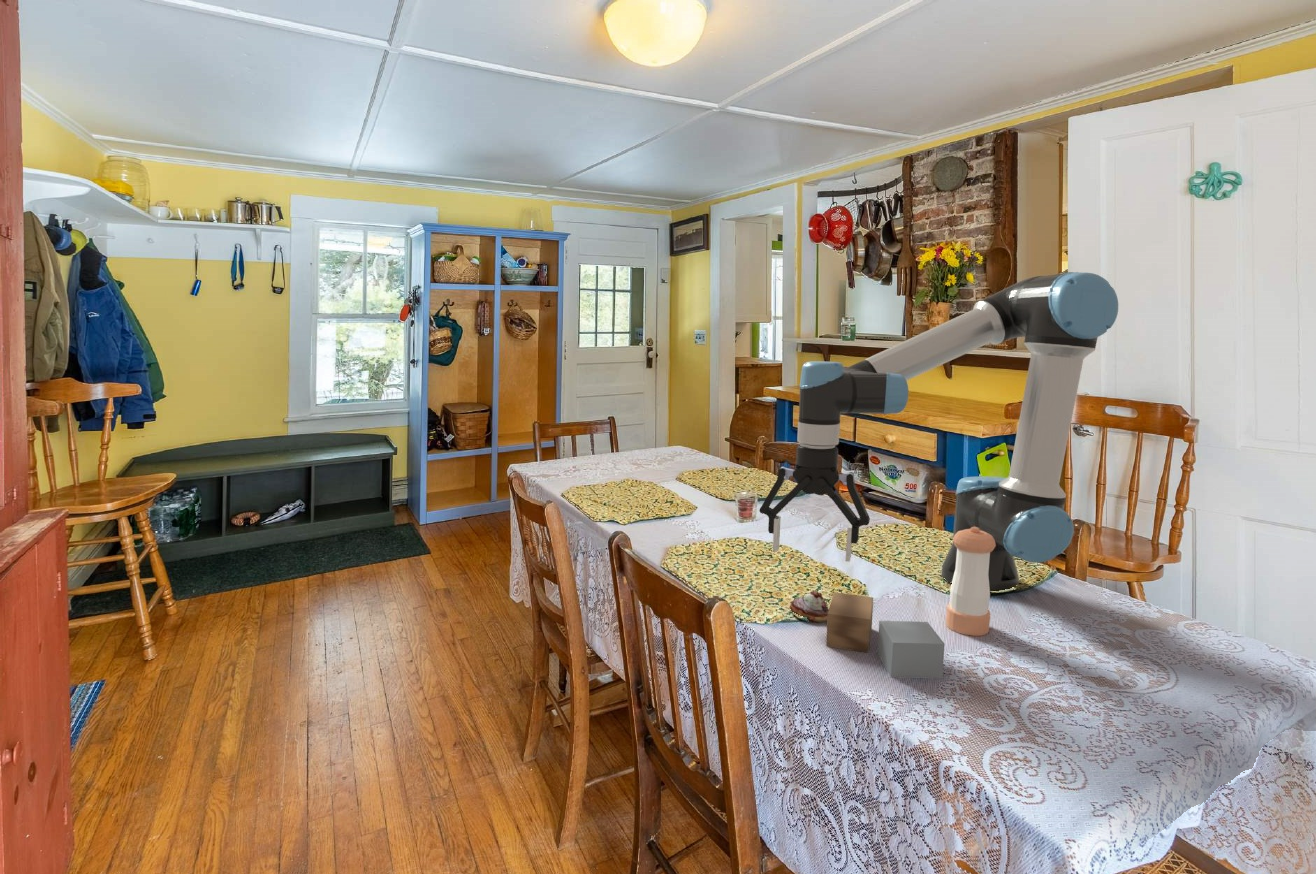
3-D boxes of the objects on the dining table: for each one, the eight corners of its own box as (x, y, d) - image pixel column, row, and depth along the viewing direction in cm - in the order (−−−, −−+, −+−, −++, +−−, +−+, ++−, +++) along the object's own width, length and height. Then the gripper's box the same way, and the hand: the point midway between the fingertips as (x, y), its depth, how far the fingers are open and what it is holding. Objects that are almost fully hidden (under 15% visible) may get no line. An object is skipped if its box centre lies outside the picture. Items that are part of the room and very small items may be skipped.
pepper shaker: (948, 615, 131) (956, 519, 127) (990, 623, 127) (999, 525, 124) (943, 630, 124) (950, 529, 121) (987, 639, 121) (996, 535, 118)
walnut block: (871, 628, 125) (873, 597, 124) (868, 652, 116) (869, 619, 115) (832, 622, 127) (834, 592, 126) (826, 645, 118) (827, 613, 117)
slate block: (925, 655, 115) (927, 621, 114) (942, 679, 108) (944, 643, 107) (877, 653, 116) (879, 620, 115) (890, 677, 108) (892, 642, 107)
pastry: (837, 622, 128) (838, 597, 127) (799, 625, 127) (800, 600, 126) (818, 605, 136) (819, 581, 135) (783, 608, 134) (784, 584, 133)
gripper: (889, 447, 125) (880, 557, 129) (755, 436, 134) (751, 540, 138) (887, 453, 119) (878, 570, 122) (747, 442, 127) (742, 551, 131)
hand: (811, 554), depth 130 cm, fingers open, 13 cm apart
